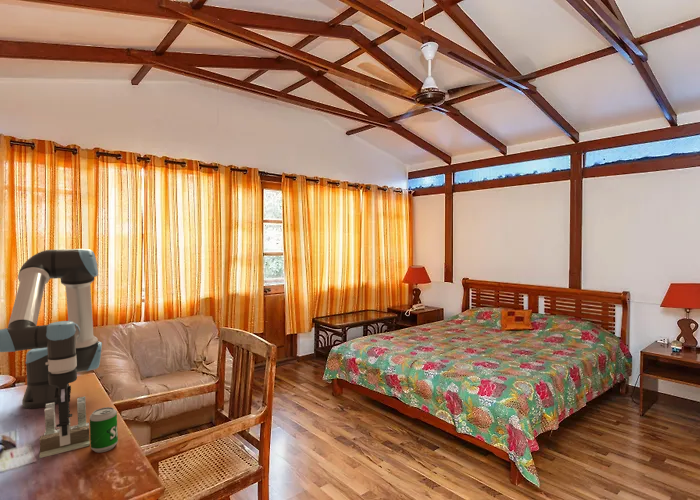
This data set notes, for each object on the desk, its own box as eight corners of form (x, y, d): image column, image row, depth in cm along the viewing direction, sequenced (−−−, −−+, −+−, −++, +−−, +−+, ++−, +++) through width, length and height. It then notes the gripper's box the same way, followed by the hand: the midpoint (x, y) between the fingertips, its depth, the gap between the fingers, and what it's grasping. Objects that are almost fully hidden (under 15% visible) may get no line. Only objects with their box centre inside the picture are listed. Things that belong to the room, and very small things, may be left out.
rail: (40, 452, 127) (39, 439, 127) (40, 448, 129) (40, 436, 129) (89, 440, 134) (89, 428, 134) (89, 437, 136) (88, 425, 136)
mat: (41, 448, 131) (41, 446, 131) (89, 437, 138) (89, 434, 138) (39, 458, 125) (39, 455, 125) (89, 445, 132) (89, 443, 132)
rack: (44, 434, 141) (43, 404, 140) (89, 423, 148) (87, 395, 148) (42, 442, 135) (41, 411, 135) (89, 431, 142) (88, 401, 142)
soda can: (105, 454, 126) (103, 416, 126) (84, 452, 128) (83, 415, 127) (123, 442, 133) (122, 406, 133) (103, 441, 135) (102, 405, 135)
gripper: (50, 365, 136) (52, 434, 136) (46, 379, 122) (49, 456, 122) (77, 361, 140) (79, 428, 140) (76, 374, 126) (79, 449, 126)
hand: (65, 441), depth 131 cm, fingers open, 4 cm apart
